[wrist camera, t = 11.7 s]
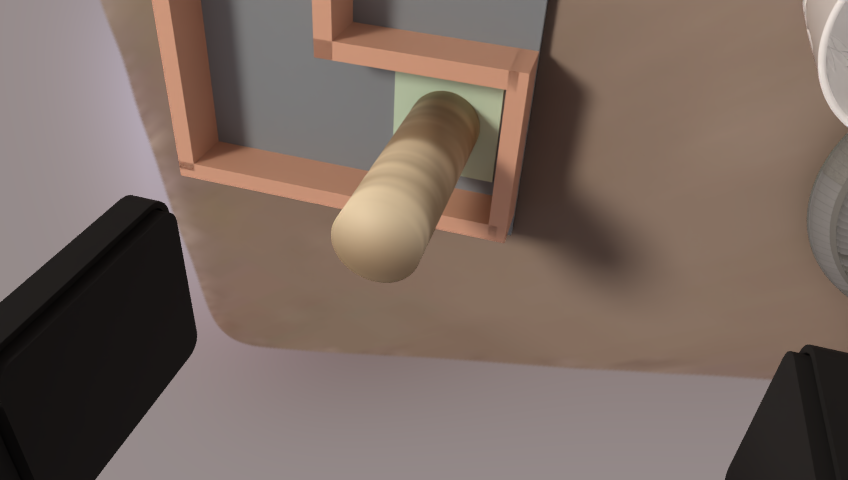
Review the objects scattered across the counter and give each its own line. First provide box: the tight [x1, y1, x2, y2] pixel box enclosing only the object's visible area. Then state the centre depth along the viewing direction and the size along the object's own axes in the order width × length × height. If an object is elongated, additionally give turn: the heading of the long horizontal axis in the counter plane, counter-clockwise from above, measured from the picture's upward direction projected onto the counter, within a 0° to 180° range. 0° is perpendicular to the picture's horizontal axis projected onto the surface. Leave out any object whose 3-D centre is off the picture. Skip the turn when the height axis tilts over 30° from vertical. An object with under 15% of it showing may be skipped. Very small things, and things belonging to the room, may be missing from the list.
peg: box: [331, 91, 480, 283], centre depth 36 cm, size 4×4×12 cm
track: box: [152, 0, 548, 243], centre depth 38 cm, size 23×20×4 cm
